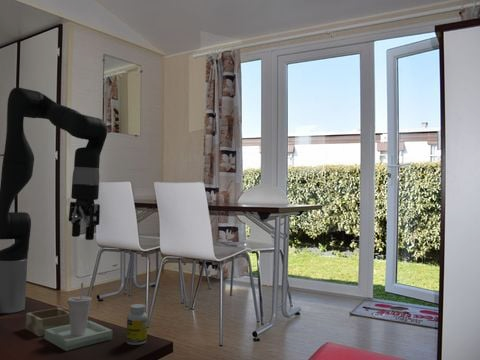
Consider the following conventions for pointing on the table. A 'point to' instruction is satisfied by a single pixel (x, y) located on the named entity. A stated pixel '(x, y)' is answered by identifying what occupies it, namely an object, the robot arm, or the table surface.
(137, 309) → the supplement bottle
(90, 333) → the tray
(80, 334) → the smoothie
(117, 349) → the table surface
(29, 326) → the holder
